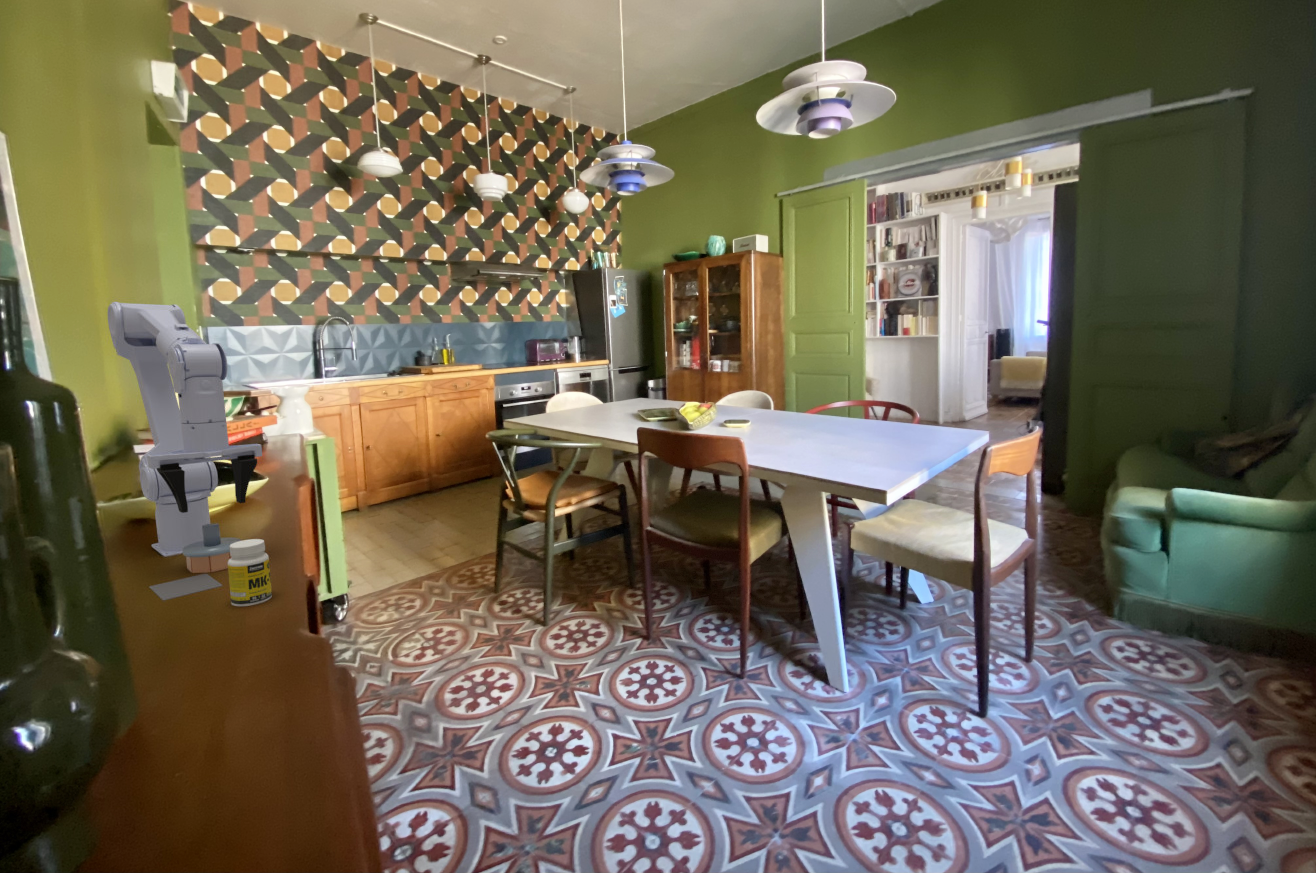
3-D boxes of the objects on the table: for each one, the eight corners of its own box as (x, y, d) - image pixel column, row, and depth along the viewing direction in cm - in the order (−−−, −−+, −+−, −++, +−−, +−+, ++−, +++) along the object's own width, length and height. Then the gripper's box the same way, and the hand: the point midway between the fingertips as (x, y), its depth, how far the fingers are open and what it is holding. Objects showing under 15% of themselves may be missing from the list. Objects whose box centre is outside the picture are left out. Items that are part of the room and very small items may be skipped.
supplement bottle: (252, 610, 83) (246, 549, 82) (222, 607, 84) (216, 547, 82) (280, 596, 87) (275, 538, 86) (252, 593, 88) (246, 536, 87)
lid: (178, 550, 99) (175, 525, 98) (234, 539, 104) (232, 516, 104) (189, 560, 93) (186, 535, 93) (247, 548, 99) (245, 524, 98)
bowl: (184, 568, 99) (181, 550, 98) (232, 557, 104) (230, 540, 103) (196, 577, 95) (193, 558, 94) (245, 566, 100) (243, 548, 99)
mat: (149, 589, 90) (148, 586, 90) (206, 575, 96) (206, 573, 95) (163, 603, 85) (163, 600, 85) (223, 588, 90) (222, 585, 90)
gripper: (151, 428, 88) (162, 520, 90) (265, 419, 99) (273, 501, 101) (140, 424, 93) (150, 512, 95) (250, 416, 104) (258, 495, 106)
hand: (213, 506), depth 98 cm, fingers open, 7 cm apart
